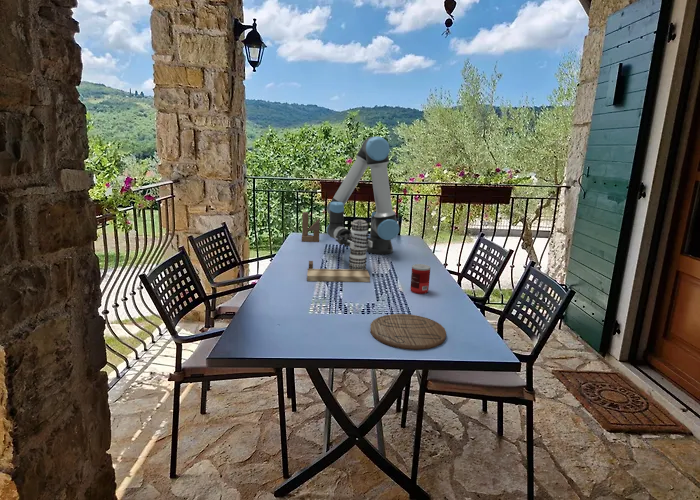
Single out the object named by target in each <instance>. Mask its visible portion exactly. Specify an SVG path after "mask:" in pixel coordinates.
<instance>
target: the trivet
mask: <svg viewBox="0 0 700 500" xmlns="http://www.w3.org/2000/svg"><path fill="white" fill-rule="evenodd" d="M369 331H370V334H371V336H372V338H374V339H376V341H378V342H380V343H381V344H384V345H386V346H389V347H393V348H396V349H402V350H408V351H421V350H423V351H425V350H429V349H433V348H437V347H438V346H441V345H442V344H443V343H445V342H446V337H447V331H446V328H445V327H444V326H442V324H441V323H439V322H437V321H435V320H433V319H432V318H429V317H425V316H421V315H418V314H416V315H415V314H410V313H409V314H408V313H393V314H392V313H391V314H386V315H382V316H378V317H376V318H375V319H372V322H371V323H370V330H369Z"/></svg>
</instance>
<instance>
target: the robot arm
mask: <svg viewBox="0 0 700 500" xmlns="http://www.w3.org/2000/svg"><path fill="white" fill-rule="evenodd" d="M389 144H390V143H389V142H388V140H386V139H385V138H384V137H382V136H377V135H376V136H370V137H367V138H366V139H364V141H363V142H362V145H361V146H360V148H359V150H358V153H357V154H356V157H355V158H356V159H355V161H354V162H353V164H352V165H351V167H350V169H349V171H348V172H347V174H346V176H345V177H344V179H343V181H342V182H341V184H340V185H339V187H338V189H337V191H336V192H335V194H334V196H333V198H332V199H331V200H330V202H329V203H328V204H327V206H326V211H327V214H328V215H329V218H328V219H329V220H328V221H329V223H328V225H327V226H326V229H325V231H326V234H327V235H328V236H329V237H330V238H332V239H335V242H337V243H338V244H339V245H340V246H343V247H345V248H346V247H349V248H350V247H351V248H352V249H354V244H355V243H354V242H352V241H351V240H350V239H349V238H350V234H351V229H348V228H346V227H344V218H345V217H344V215H345V205H346V204H347V202H348V200H349V198H350V197H351V195H352V193H353V192H354V190H355V189H356V187H357V186H358V184H359V183H360V180H361V179H362V177H363V175H364V174H365V173H366V170H367V169H368V167H369V169H370V174H371V183H372V189H373V197H374V204H375V211H373V212H371V216H370V232H369V233H370V234H369V236H368V237H367V239H368V241H366V242H368V244H366V246H367V249H366V252H367V253H370V254H374V255H375V254H376V255H389V254H390V255H391V254H392V253H393V250H394V249H393V243H392V240H394V239H395V238H397V236H398V235H399V233H400V225H399V223H398V221H397V216H396V215H397V214H396V212H395V211H394V210H393V205H392V198H391V197H392V196H391V190H390V181H389V173H388V164H389V163H390V157H389V154H390V145H389ZM351 248H350V249H351Z"/></svg>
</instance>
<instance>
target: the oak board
mask: <svg viewBox="0 0 700 500" xmlns="http://www.w3.org/2000/svg"><path fill="white" fill-rule="evenodd" d="M306 275H307V276H306V281H307V282H338V283H339V282H341V283H342V282H343V283H346V282H347V283H348V282H349V283H371V282H370V281H371V276H370V273H369V271H368V269H366V270H355V269H349V268H346V269H344V268H342V269H341V268H313V269H309V268H307V273H306Z"/></svg>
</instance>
